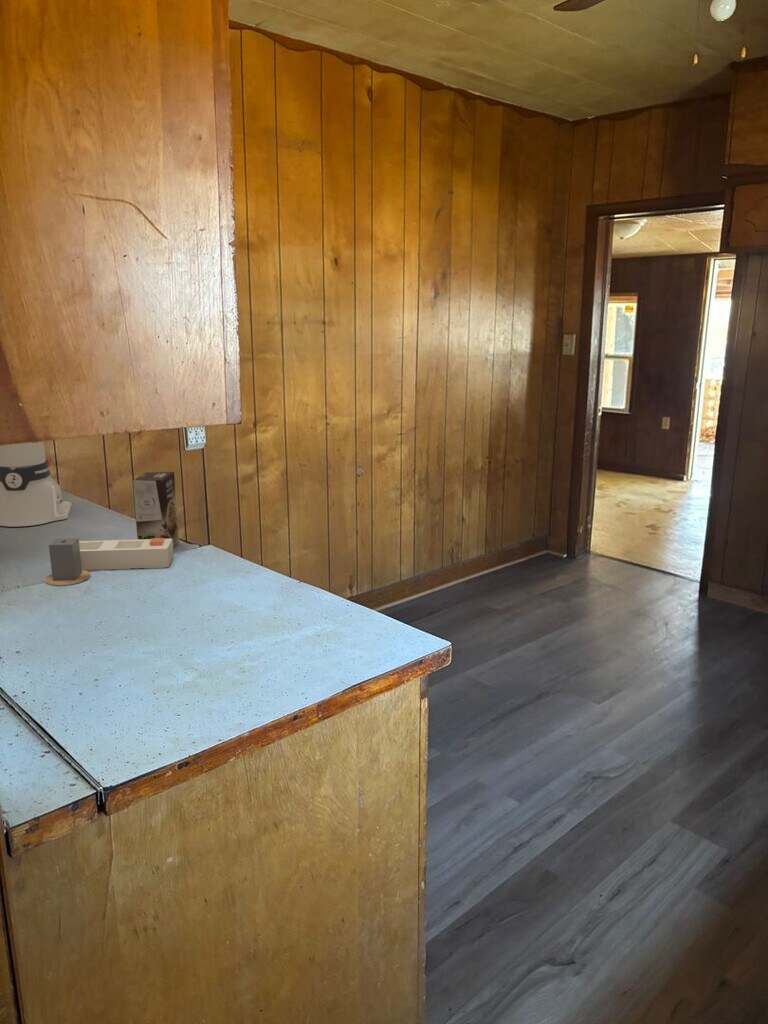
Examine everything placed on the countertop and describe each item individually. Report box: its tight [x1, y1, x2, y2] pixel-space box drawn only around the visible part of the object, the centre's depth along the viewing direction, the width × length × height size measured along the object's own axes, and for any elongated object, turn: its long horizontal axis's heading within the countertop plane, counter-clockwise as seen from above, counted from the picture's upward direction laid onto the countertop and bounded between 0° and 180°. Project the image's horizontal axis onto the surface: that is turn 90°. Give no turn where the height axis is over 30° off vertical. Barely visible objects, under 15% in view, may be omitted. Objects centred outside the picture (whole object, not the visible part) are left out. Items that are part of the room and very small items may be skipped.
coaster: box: [44, 570, 91, 587], centre depth 143 cm, size 8×8×1 cm
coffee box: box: [132, 471, 180, 549], centre depth 160 cm, size 9×6×16 cm
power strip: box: [79, 538, 175, 571], centre depth 151 cm, size 22×7×5 cm, turn 97°
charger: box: [48, 537, 82, 581], centre depth 142 cm, size 4×4×7 cm
